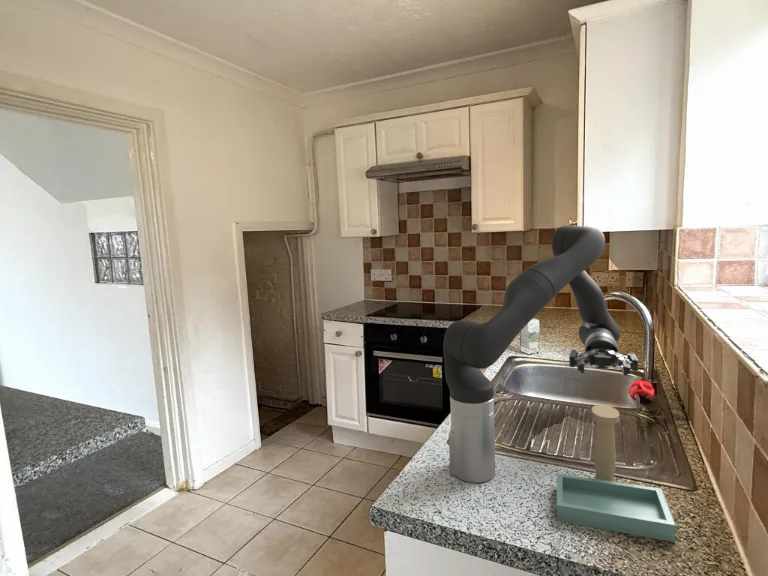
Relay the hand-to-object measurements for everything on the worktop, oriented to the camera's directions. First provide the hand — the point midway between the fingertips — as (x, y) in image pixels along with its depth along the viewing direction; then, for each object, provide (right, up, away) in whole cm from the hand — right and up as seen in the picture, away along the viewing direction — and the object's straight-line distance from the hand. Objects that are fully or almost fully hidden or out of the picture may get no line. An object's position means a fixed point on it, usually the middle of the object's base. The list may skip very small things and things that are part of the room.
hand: (603, 370), depth 97 cm
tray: (-7, -23, -17) cm, 29 cm away
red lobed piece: (+29, -15, +35) cm, 48 cm away
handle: (-3, -22, -7) cm, 23 cm away
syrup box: (+14, -10, +91) cm, 92 cm away
